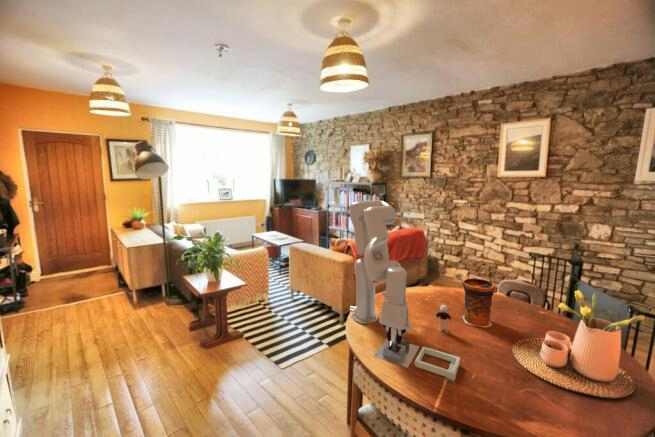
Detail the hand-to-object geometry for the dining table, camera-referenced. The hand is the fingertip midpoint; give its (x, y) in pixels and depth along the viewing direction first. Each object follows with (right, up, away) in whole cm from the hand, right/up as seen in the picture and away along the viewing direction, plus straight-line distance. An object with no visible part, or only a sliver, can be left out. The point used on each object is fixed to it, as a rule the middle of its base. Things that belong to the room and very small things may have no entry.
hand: (394, 340), depth 120 cm
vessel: (+47, -2, +28) cm, 55 cm away
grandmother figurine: (+27, -4, +20) cm, 34 cm away
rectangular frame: (+15, -8, -5) cm, 18 cm away
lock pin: (0, -4, +1) cm, 4 cm away
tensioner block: (+2, -6, +3) cm, 7 cm away
